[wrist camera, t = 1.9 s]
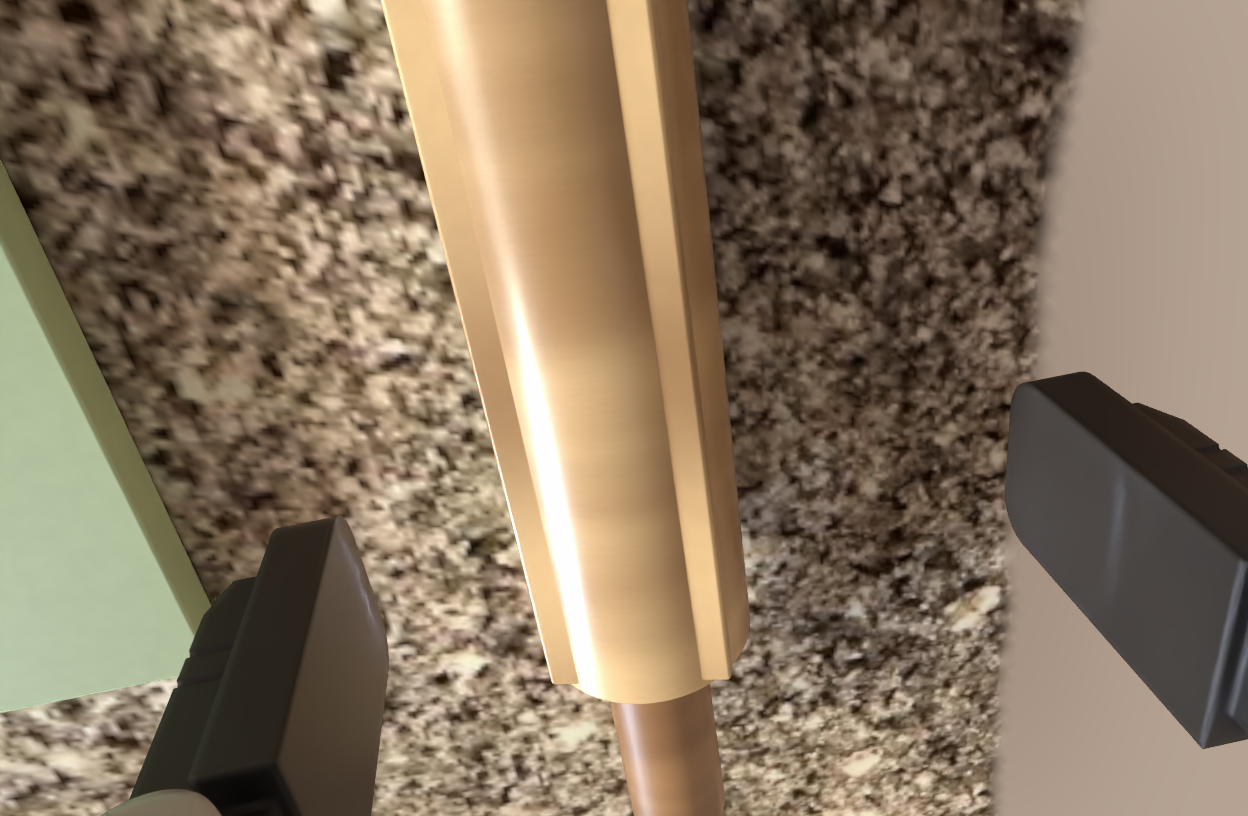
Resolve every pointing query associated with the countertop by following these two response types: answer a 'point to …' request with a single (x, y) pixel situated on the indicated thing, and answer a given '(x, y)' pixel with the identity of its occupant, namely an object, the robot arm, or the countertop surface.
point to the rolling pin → (594, 348)
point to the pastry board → (75, 507)
